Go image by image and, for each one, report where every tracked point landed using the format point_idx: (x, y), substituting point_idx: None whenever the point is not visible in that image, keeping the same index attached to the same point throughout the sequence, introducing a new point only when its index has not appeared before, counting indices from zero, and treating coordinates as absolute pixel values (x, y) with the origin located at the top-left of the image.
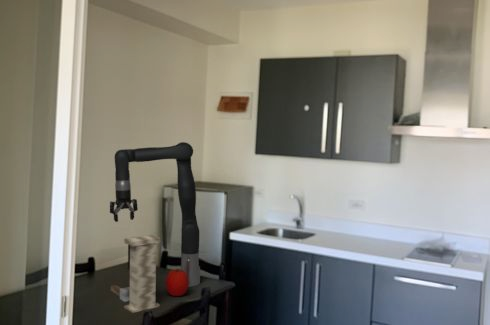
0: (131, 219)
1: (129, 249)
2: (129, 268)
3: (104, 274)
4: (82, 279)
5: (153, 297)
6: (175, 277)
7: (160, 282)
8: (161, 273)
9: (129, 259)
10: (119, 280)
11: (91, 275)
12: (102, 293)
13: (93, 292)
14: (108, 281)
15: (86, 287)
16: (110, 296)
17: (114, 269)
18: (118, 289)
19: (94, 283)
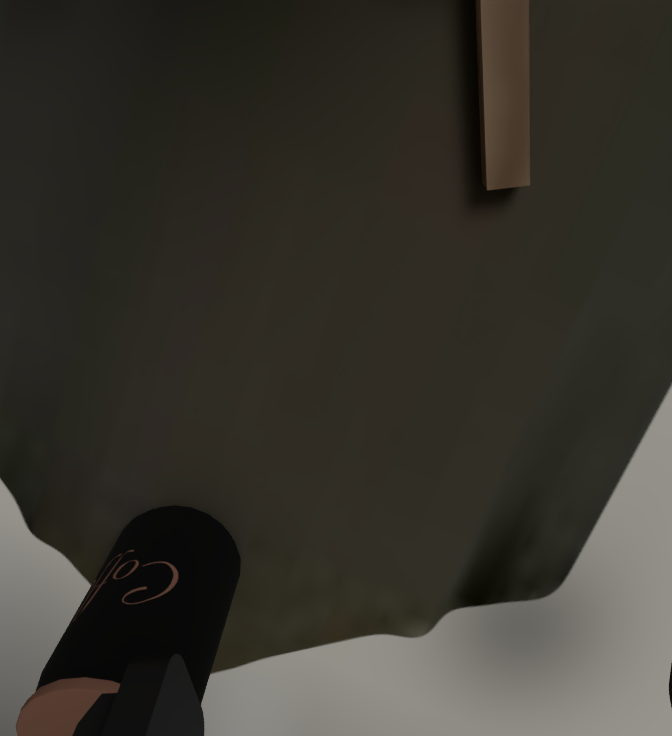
0: (187, 680)
1: (202, 666)
2: (237, 552)
3: (411, 544)
4: (579, 514)
5: None
6: None
7: (104, 202)
8: (50, 402)
9: (222, 600)
10: (369, 387)
11: (493, 561)
12: (608, 140)
13: (655, 201)
14: (446, 400)
15: (639, 342)
16: (590, 23)
17: (318, 604)
18: (516, 48)
19: (549, 402)
